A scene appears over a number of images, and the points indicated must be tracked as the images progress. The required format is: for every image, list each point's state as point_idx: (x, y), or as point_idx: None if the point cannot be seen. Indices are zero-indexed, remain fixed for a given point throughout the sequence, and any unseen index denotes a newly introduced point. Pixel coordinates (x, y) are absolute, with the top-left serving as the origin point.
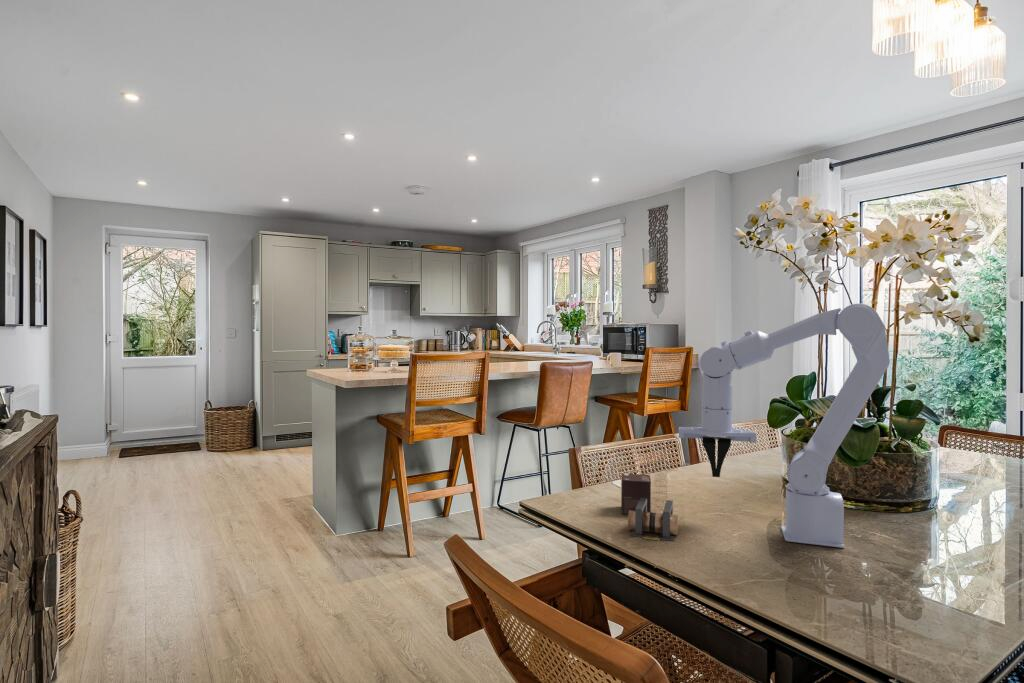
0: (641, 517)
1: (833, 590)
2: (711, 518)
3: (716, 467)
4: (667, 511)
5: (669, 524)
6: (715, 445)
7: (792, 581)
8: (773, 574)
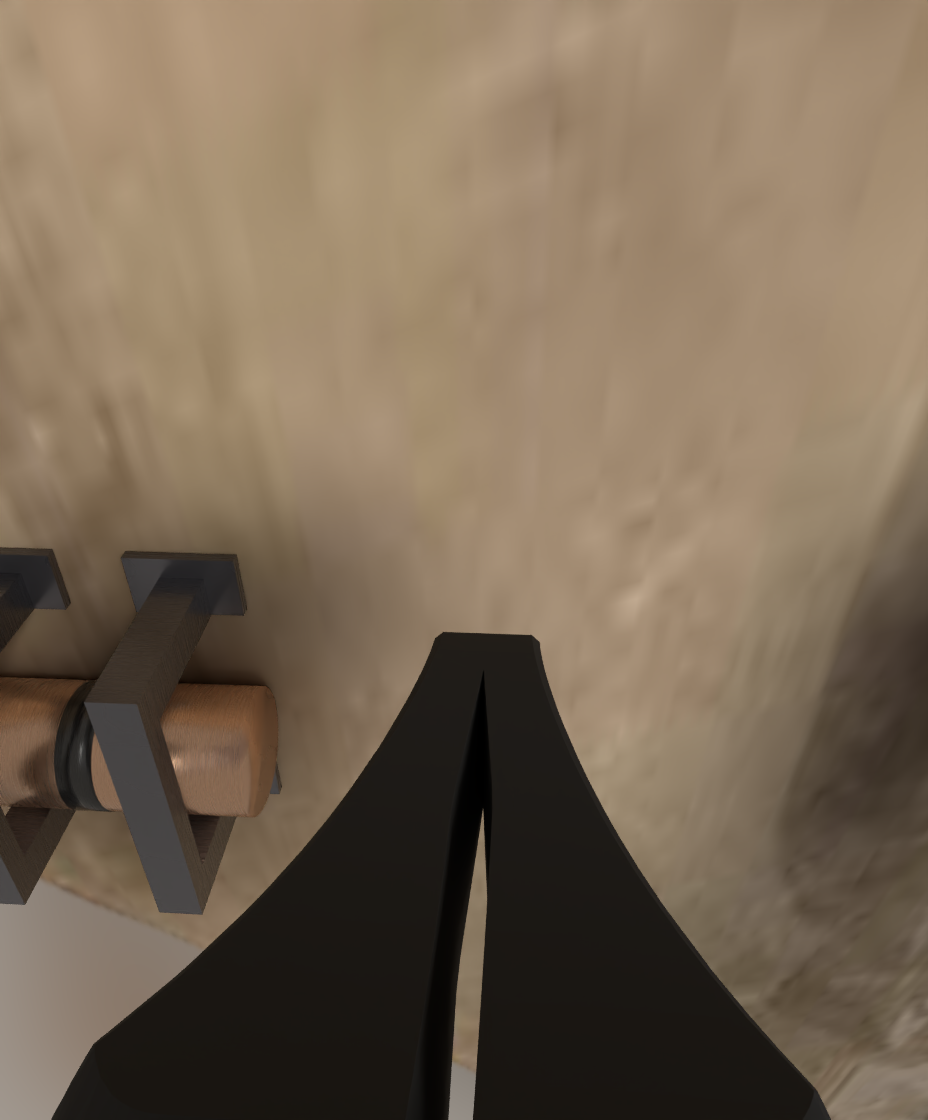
0: (48, 858)
1: (919, 1030)
2: (469, 281)
3: (485, 733)
4: (184, 905)
5: (225, 843)
6: (426, 1040)
7: (786, 1004)
8: (728, 975)
